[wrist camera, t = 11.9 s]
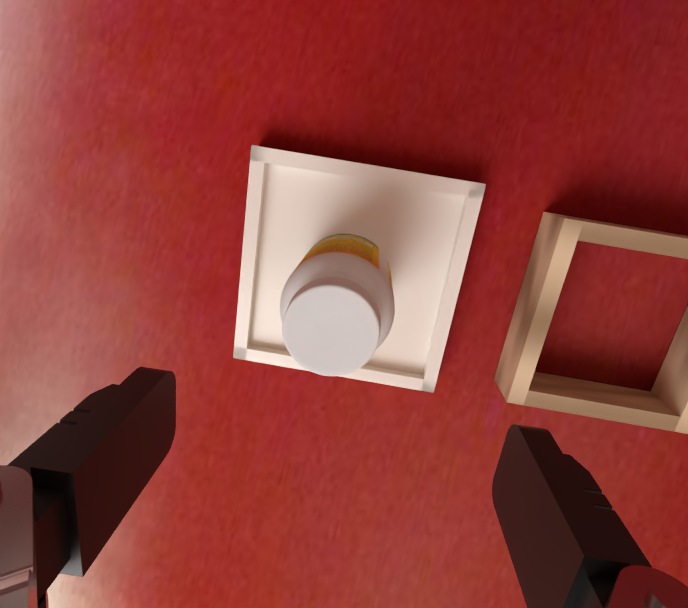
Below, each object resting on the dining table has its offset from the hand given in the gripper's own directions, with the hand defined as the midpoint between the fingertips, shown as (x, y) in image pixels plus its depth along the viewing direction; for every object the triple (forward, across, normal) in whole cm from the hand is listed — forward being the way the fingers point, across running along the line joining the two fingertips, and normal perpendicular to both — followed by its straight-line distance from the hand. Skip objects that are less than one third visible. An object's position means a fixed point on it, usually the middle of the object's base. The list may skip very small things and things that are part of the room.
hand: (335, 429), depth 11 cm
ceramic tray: (+18, 0, +1) cm, 18 cm away
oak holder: (+18, -16, +1) cm, 24 cm away
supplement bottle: (+17, +1, +1) cm, 17 cm away
